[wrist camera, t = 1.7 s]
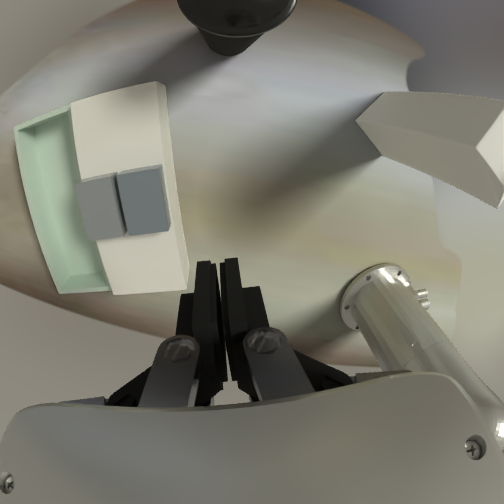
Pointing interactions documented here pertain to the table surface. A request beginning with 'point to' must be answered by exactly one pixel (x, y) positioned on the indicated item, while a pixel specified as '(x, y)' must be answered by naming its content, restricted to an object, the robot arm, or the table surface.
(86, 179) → the slate tile
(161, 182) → the slate tile
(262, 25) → the drinking cup
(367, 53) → the table surface
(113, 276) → the cream rectangular block
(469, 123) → the milk
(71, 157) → the box
